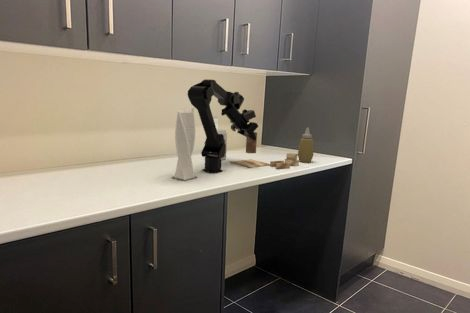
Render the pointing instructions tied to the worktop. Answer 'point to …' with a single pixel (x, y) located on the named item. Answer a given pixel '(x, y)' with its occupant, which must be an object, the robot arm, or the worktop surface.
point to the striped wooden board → (250, 163)
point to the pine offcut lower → (292, 162)
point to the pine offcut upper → (291, 156)
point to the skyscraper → (185, 144)
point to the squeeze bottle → (306, 147)
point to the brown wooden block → (251, 144)
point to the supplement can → (224, 133)
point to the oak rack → (279, 164)
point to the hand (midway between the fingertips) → (254, 139)
